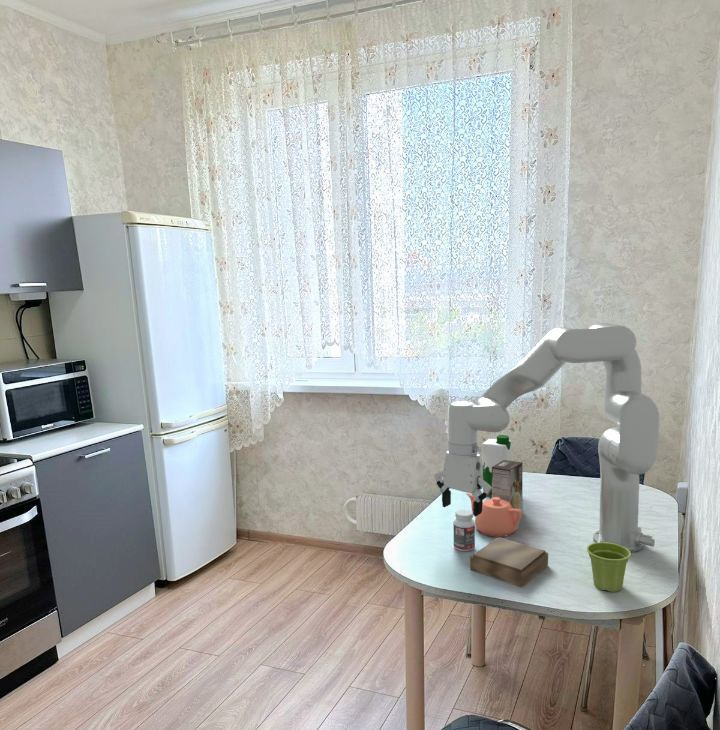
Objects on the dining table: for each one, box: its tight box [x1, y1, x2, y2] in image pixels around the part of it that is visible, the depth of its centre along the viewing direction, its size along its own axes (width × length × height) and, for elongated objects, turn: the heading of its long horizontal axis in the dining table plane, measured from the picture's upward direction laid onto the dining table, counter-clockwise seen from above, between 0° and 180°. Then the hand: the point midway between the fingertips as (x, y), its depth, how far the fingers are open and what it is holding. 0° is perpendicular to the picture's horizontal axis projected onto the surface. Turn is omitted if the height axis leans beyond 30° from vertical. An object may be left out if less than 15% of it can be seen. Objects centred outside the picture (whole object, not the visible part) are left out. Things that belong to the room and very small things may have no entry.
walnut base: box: [469, 537, 549, 588], centre depth 147 cm, size 14×14×4 cm
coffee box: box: [491, 460, 524, 516], centre depth 180 cm, size 9×6×16 cm
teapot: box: [465, 492, 524, 538], centre depth 170 cm, size 12×18×10 cm
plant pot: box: [586, 542, 632, 593], centre depth 136 cm, size 9×9×9 cm
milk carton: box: [481, 434, 512, 497], centre depth 199 cm, size 9×9×20 cm
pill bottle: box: [452, 508, 476, 552], centre depth 158 cm, size 6×6×10 cm
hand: (461, 510), depth 158 cm, fingers open, 9 cm apart
